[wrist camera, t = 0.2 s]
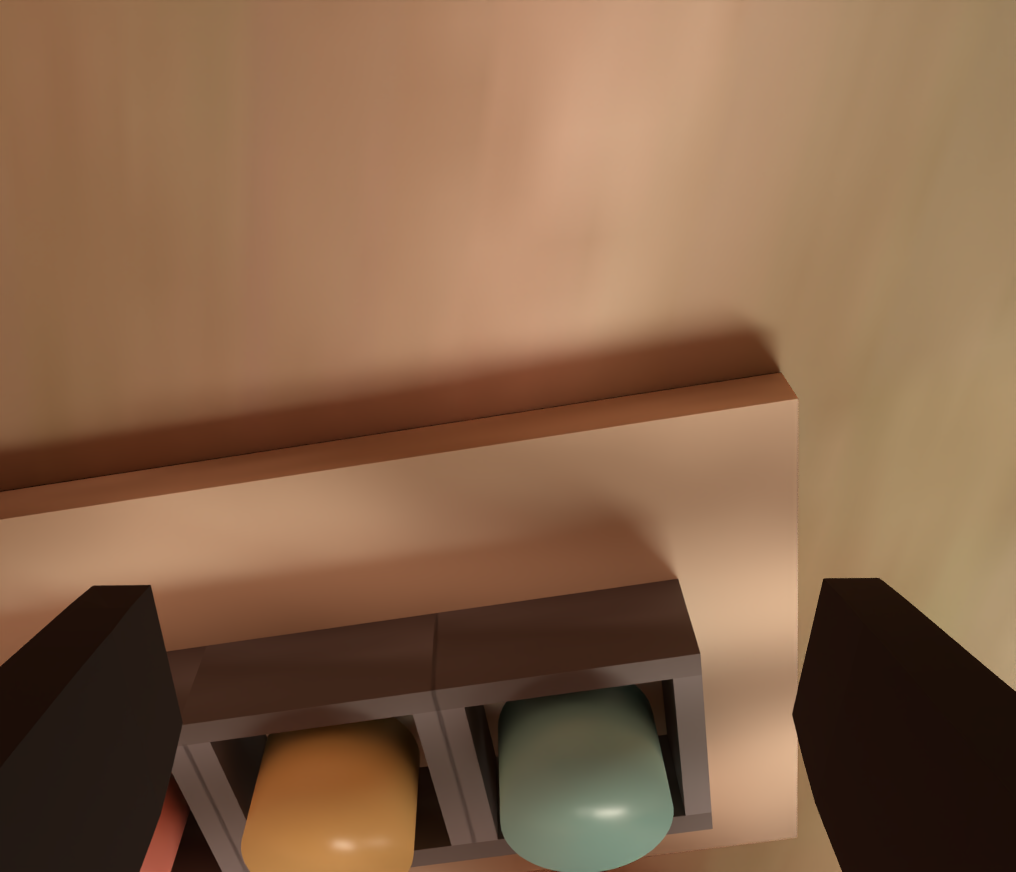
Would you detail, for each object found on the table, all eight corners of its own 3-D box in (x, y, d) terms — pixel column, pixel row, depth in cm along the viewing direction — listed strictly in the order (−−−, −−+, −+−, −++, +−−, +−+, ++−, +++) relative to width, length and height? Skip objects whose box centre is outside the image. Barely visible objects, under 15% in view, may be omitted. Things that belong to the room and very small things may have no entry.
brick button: (213, 826, 23) (186, 923, 20) (73, 844, 23) (30, 943, 21) (163, 724, 21) (127, 819, 19) (10, 745, 21) (-43, 842, 19)
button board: (784, 801, 27) (825, 920, 23) (117, 886, 28) (72, 1011, 25) (781, 372, 20) (838, 461, 16) (-112, 509, 21) (-217, 616, 18)
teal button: (659, 767, 22) (679, 862, 20) (510, 786, 22) (514, 882, 20) (646, 657, 20) (667, 748, 18) (485, 679, 20) (486, 772, 18)
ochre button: (433, 797, 22) (428, 893, 20) (288, 816, 22) (269, 912, 20) (401, 691, 21) (393, 784, 18) (245, 713, 21) (218, 807, 19)
